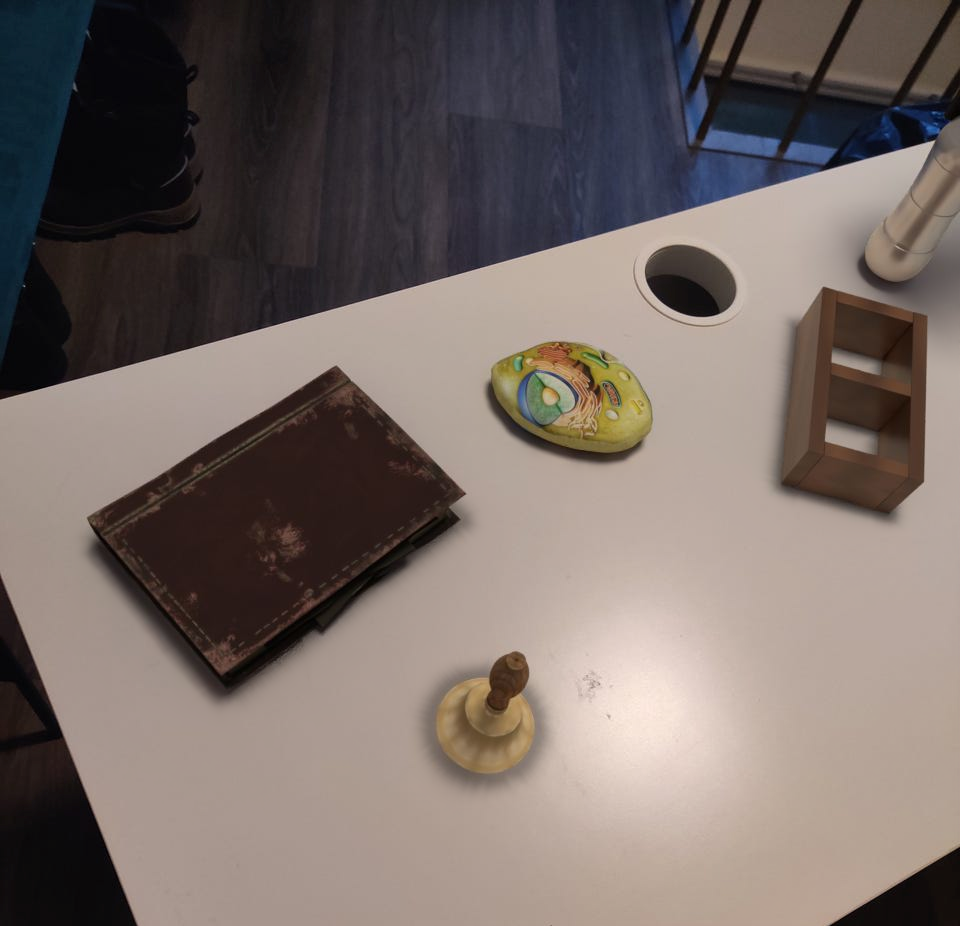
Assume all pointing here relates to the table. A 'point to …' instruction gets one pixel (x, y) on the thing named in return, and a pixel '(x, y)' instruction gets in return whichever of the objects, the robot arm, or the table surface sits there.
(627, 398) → the cell model
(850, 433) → the table surface
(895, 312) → the shelf
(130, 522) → the diary
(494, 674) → the hand bell
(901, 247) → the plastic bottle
